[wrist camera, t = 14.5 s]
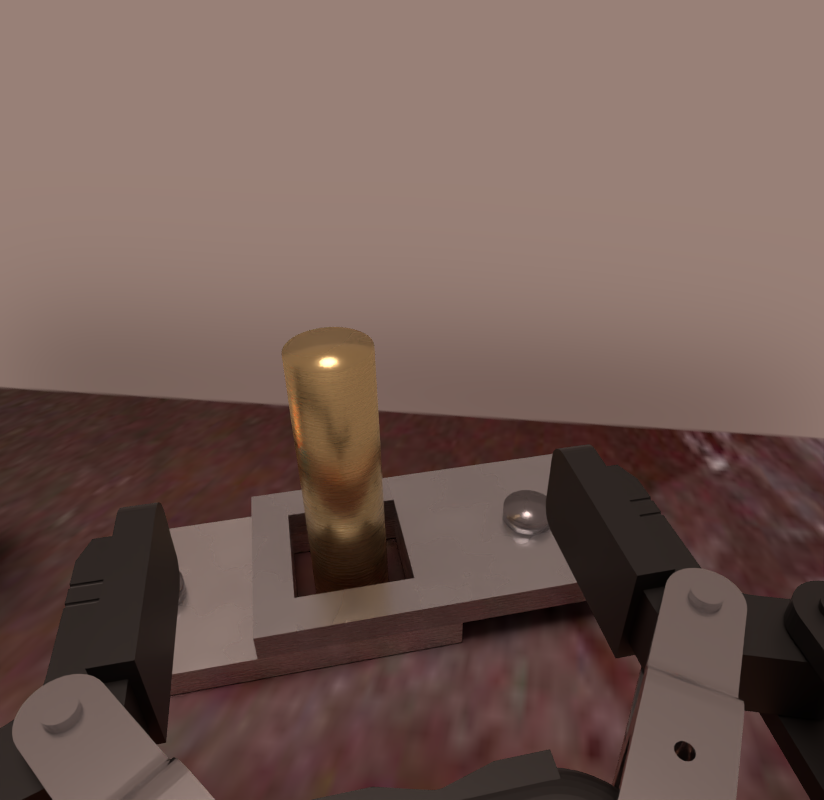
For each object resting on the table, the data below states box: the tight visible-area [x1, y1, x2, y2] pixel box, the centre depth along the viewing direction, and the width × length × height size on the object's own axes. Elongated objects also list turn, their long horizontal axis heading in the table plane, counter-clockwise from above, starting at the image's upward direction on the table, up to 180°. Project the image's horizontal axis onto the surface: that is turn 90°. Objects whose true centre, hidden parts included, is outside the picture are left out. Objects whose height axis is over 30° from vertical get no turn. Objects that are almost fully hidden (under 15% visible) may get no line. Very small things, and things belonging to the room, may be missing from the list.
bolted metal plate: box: [169, 454, 586, 695], centre depth 30 cm, size 22×8×3 cm, turn 101°
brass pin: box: [282, 327, 388, 594], centre depth 28 cm, size 3×3×12 cm
